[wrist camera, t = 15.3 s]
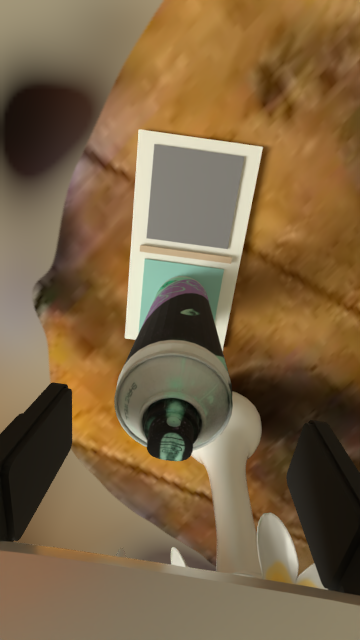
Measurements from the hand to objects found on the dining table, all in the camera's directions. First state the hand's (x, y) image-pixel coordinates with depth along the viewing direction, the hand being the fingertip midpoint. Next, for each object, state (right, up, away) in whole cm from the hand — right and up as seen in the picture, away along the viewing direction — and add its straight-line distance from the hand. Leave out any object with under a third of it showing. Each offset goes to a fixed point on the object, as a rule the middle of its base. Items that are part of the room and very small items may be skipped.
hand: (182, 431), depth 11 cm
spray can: (0, +6, +18) cm, 19 cm away
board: (0, +11, +17) cm, 21 cm away
